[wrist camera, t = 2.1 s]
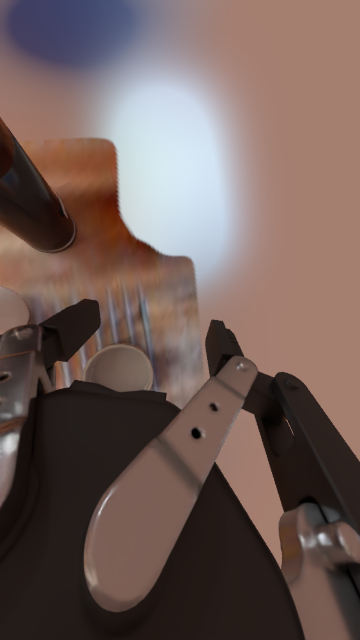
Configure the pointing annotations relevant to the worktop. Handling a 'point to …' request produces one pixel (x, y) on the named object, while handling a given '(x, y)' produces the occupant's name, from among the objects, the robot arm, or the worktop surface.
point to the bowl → (120, 368)
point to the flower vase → (12, 310)
